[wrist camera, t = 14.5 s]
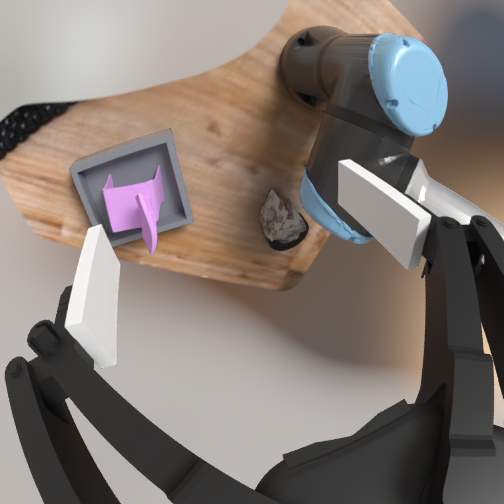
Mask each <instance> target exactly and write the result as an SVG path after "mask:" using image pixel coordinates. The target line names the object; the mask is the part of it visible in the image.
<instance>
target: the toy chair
mask: <svg viewBox="0 0 504 504" xmlns="http://www.w3.org/2000/svg"><path fill="white" fill-rule="evenodd" d="M102 191H103V196H104V200H105V205H106V209H107V213H108V217H109V222H110V225H111V228H112V230H113V232H119V231H124V230H129V229H134V228H141V227H142V236H143V239H144V241H145V243H146V245H147V247H148V249H149V252H150V255H152V254H153V253H154V251H155V248H156V244H157V232H156V230H157V226H156V221H157V220H158V218H159V210H160V205H161V203H162V202H164V201H165V200H164V193H163V185H162V177H161V168H160V165H159V166H158V168H157V172H156V176H155V179H154V180H149V181H147V182H144V183H139V184H134V185H129V186H123V187H117V188H114V186H113V181H112V176H111V174H109V175H108V178H107V181H106V184H105V186H104V188H103V189H102Z"/></svg>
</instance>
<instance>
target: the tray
mask: <svg viewBox="0 0 504 504" xmlns="http://www.w3.org/2000/svg"><path fill="white" fill-rule="evenodd" d="M159 165H160V168H161V177H162V185H163V193H164V200H165V201H164V202H162V203H161V205H160V210H159V218H158V220H157V221H156V226H157V230H156V232H157V233H160V232H163V231H167V230H170V229H173V228H177V227H180V226H183V225H187V224H190V223H194V219H193V215H192V211H191V207H190V204H189V200H188V196H187V192H186V188H185V185H184V181H183V177H182V173H181V169H180V165H179V161H178V157H177V153H176V149H175V145H174V141H173V137H172V133H171V128H170V129H167V130H163V131H160V132H156V133H153V134H150V135H146V136H143V137H140V138H137V139H134V140H131V141H127V142H124V143H122V144H119V145H116V146H113V147H110V148H107V149H104V150H102V151H99V152H96V153H94V154H91V155H88V156H86V157H83V158H81V159H78V160H76V161H75V162H74V163H73V164H72V166H71V167H70V169H69V170H70V173H71V176H72V178H73V181H74V183H75V186H76V188H77V191H78V193H79V196H80V198H81V201H82V203H83V205H84V208H85V210H86V212H87V215H88V217H89V219H90V221H91V224H92V226H93V227H94V226H97V225H100V224H102V227H103V229H104V231H105V233H106V236H107V238H108V240H109V242H110V244H111V246H112V247H115V246H118V245H121V244H124V243H128V242H131V241H134V240H137V239H140V238H143V236H142V227H141V228H134V229H129V230H124V231H119V232H113V230H112V228H111V225H110V222H109V217H108V213H107V209H106V205H105V200H104V196H103V191H102V189H103V188H104V186H105V184H106V181H107V178H108V175H109V174H111V176H112V181H113V186H114V188H117V187H123V186H129V185H134V184H139V183H144V182H147V181H149V180H154V179H155V176H156V172H157V168H158V166H159Z"/></svg>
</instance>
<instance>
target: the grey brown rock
mask: <svg viewBox="0 0 504 504" xmlns="http://www.w3.org/2000/svg"><path fill="white" fill-rule="evenodd" d="M258 218H259V220H260V222H261V224H262V225H263V228H264V233H265V238H266V240H267V241H268V243H269V245H270V247H271V248H272V249H274V250H278V251H283V250H287V249H290V248H293V247H294V246H296V245H298V244H299V243H300V242H301V241H302V240H303V239H304V238H305V237H306V235H307V233H308V230H309V226H308V223H307V222H306V220H305V219H304V217H303V216H302V215H301V214H300V213H298V212H297V211H296V210H295V208H294V206H293V204H292V202H291V201H290V200H289V199H288V198H287V197H278V196H277V195H276V193H275V192H274V190H273V189H271V191H270V193H269V195H268V197H267V199H266V201H265V203H264V205H263V207H262V209H261V211H260V212H259V215H258Z"/></svg>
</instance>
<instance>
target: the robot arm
mask: <svg viewBox="0 0 504 504" xmlns="http://www.w3.org/2000/svg"><path fill="white" fill-rule="evenodd" d="M280 65H281V75H282V78H283V81H284V84H285V86H286V88H287V89H288V91H289V92H290V93H291V95H292V96H293V97H294V98H295V99H296V100H298V101H299V102H300V103H302V104H304V105H306V106H308V107H311V108H314V109H317V110H322V111H325V113H324V116H323V119H322V122H321V125H320V128H319V131H318V134H317V137H316V140H315V143H314V146H313V148H312V151H311V154H310V157H309V159H308V162H307V163H306V165H305V167H304V175H303V178H302V182H301V185H300V189H299V199H300V201H301V204H302V205H303V208H304V209H305V211H306V212H307V213H308V214H309V216H310V217H311V218H312V219H313V220H314V221H316V222H317V223H318V224H319V225H320V226H322V227H323V228H324V229H326V230H327V231H329V232H330V233H332V234H334V235H335V236H337V237H340V238H342V239H344V240H348V239H349V240H350V241H351V242H352V243H356V244H364V243H367V242H369V241H370V240H372V239H373V237H375V238H376V239H377V240H378V241H379V242H380V243H381V244H382V245H383V246H384V247H385V248H386V249H387V250H388V251H389V252H390V253H391V254H392V255H393V256H394V257H395V258H396V259H397V260H398V261H399V262H400V263H401V264H402V265H403V266H404V267H405V268H406V269H407V270H409V269H412V268H414V267H416V266H419V263H420V260H421V256H422V255H423V256H424V257H425V258H426V259H427V260H426V263H425V266H424V269H423V273H422V276H421V278H423V277H424V275H425V287H426V317H425V342H424V357H423V369H422V379H421V386H420V391H419V393H418V396H417V398H416V401H415V403H414V404H407V402H406V401H405V399H403V400H402V401H400V402H398V403H397V404H395V405H393V406H391V407H389V408H388V409H386V410H384V411H382V412H380V413H378V414H377V415H376V416H375V417H374V418H373V419H372V420H370V421H369V422H368V423H367V424H366V425H365V426H363V427H362V428H361V429H360V430H359V431H357V432H356V433H355V434H354V435H352V436H349V437H344V438H339V439H334V440H328V441H323V442H316V443H313V444H311V445H308V446H306V447H303V448H300V449H298V450H295V451H292V452H289V453H287V454H283V459H284V460H283V461H281V462H280V463H278V464H277V465H276V466H274V467H273V468H272V469H270V470H269V471H268V472H267V474H265V475H264V477H263V478H262V479H261V481H260V482H259V484H258V485H257V487H256V489H255V490H253V489H251V488H249V487H247V486H245V485H244V484H242V483H240V482H238V481H237V480H235V479H233V478H232V477H230V476H228V475H226V474H225V473H223V472H222V471H220V470H218V469H217V468H215V467H214V466H212V465H210V464H209V463H207V462H206V461H204V460H203V459H201V458H200V457H198V456H196V455H195V454H194V453H192V452H191V451H189V450H188V449H186V448H185V447H184V446H182V445H181V444H179V443H178V442H177V441H175V440H174V439H173V438H171V437H170V436H169V435H167V434H166V433H165V432H163V431H162V430H161V429H159V428H158V427H157V426H156V425H154V424H153V423H152V422H151V421H150V420H148V419H147V418H146V417H145V416H144V415H142V414H141V413H140V412H139V411H138V410H136V409H135V408H134V407H133V406H132V405H131V404H130V403H128V402H127V401H126V400H125V399H124V398H123V397H122V396H121V395H120V394H118V393H117V392H116V391H115V390H114V389H113V388H112V387H111V386H110V385H109V384H108V383H107V382H106V381H105V380H104V379H103V378H102V377H101V376H100V375H99V374H98V373H97V372H96V371H95V370H94V362H95V363H96V364H97V365H98V366H99V367H100V368H106V367H111V366H115V365H117V355H116V354H117V351H116V348H117V342H116V341H117V307H118V290H119V276H120V263H119V261H118V259H117V257H116V255H115V253H114V251H113V248H112V246H111V244H110V242H109V240H108V238H107V236H106V233H105V231H104V229H103V227H102V224H100V225H97V226H94V227H91V228H89V229H88V232H87V235H86V238H85V242H84V245H83V249H82V252H81V256H80V259H79V263H78V267H77V271H76V275H75V279H74V283H73V285H71V286H68V287H66V288H65V290H64V292H63V293H62V295H61V297H60V301H59V307H58V310H57V314H56V318H55V323H54V324H53V323H52V322H51V321H50V320H43V321H40V322H38V323H37V324H36V325H34V327H33V328H32V329H31V330H30V333H29V334H28V338H27V342H28V345H29V347H31V349H32V350H33V351H34V352H35V353H36V354H37V355H38V357H36V358H34V359H33V360H31V361H29V362H27V361H26V360H25V359H24V358H23V357H16V358H14V359H12V361H10V362H9V364H8V365H7V367H6V371H5V381H6V386H7V392H8V397H9V401H10V406H11V410H12V414H13V418H14V422H15V425H16V429H17V432H18V436H19V439H20V442H21V446H22V449H23V452H24V455H25V458H26V460H27V463H28V465H29V468H30V471H31V474H32V476H33V479H34V481H35V484H36V486H37V488H38V490H39V493H40V495H41V497H42V499H43V502H44V504H121V503H120V502H119V501H118V499H117V498H116V496H115V495H114V493H113V491H112V490H111V488H110V487H109V485H108V483H107V482H106V480H105V479H104V477H103V475H102V474H101V472H100V470H99V469H98V467H97V465H96V463H95V462H94V460H93V458H92V456H91V454H90V452H89V451H88V449H87V447H86V445H85V443H84V441H83V439H82V437H81V435H80V433H79V431H78V429H77V427H76V424H75V422H74V420H73V418H72V416H71V413H70V411H69V409H68V407H67V404H66V402H65V399H67V398H68V397H70V399H71V400H72V401H73V402H74V404H75V405H76V406H77V408H78V409H79V410H80V411H81V412H82V413H83V415H84V416H85V417H86V418H87V419H88V420H89V422H90V423H91V424H92V425H93V426H94V427H95V428H96V429H97V430H98V431H99V433H100V434H101V435H102V436H103V437H104V438H105V439H106V440H107V441H108V442H109V443H110V444H111V445H112V446H113V447H114V448H115V449H116V450H117V451H118V452H119V453H120V454H121V455H122V456H123V457H124V458H125V459H126V460H127V461H128V462H129V463H131V464H132V465H133V466H134V467H135V468H136V469H137V470H138V471H140V472H141V473H142V474H143V475H144V476H145V477H146V478H148V479H149V480H150V481H151V482H152V483H154V484H155V485H156V486H157V487H158V488H160V489H161V490H162V491H163V492H164V493H165V494H166V496H167V498H168V499H169V500H170V501H171V502H172V503H173V504H504V428H503V427H500V426H496V425H493V419H494V417H493V416H494V372H493V361H494V365H495V369H496V373H497V377H498V381H499V385H500V388H501V392H502V396H503V399H504V225H503V224H502V223H500V222H499V221H498V220H496V219H495V218H493V217H492V216H491V215H489V214H488V213H486V212H485V211H483V210H482V209H480V208H479V207H477V206H475V205H474V204H472V203H471V202H469V201H468V200H466V199H465V198H463V197H461V196H460V195H458V194H457V193H455V192H453V191H452V190H450V189H448V188H446V187H445V186H443V185H441V184H439V183H438V182H436V181H434V180H433V179H431V178H430V177H429V176H428V174H427V171H426V169H425V166H424V164H423V161H422V160H421V159H419V158H417V157H415V156H413V155H411V154H410V153H409V152H410V149H411V147H412V144H413V141H414V139H415V136H424V135H427V134H430V133H431V132H432V131H433V128H437V127H438V126H439V124H440V123H441V121H442V119H443V117H444V114H445V111H446V106H447V98H448V95H447V83H446V79H445V76H444V74H443V69H442V67H441V64H440V63H439V61H438V59H437V57H436V56H435V54H434V53H433V52H432V51H431V50H430V49H429V48H428V47H427V46H426V45H425V44H423V43H422V42H420V41H419V40H417V39H414V38H411V37H406V36H400V35H396V34H393V33H392V34H391V33H383V34H348V33H346V32H344V31H342V30H340V29H338V28H335V27H330V26H315V27H309V28H306V29H303V30H301V31H299V32H297V33H296V34H295V35H294V36H292V37H291V38H290V40H289V41H288V42H287V44H286V45H285V47H284V50H283V52H282V56H281V64H280ZM481 323H482V326H483V329H484V332H485V335H486V338H487V341H488V344H489V347H490V351H491V354H492V356H491V355H490V354H485V353H484V351H483V338H482V328H481ZM492 358H493V360H492Z"/></svg>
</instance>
